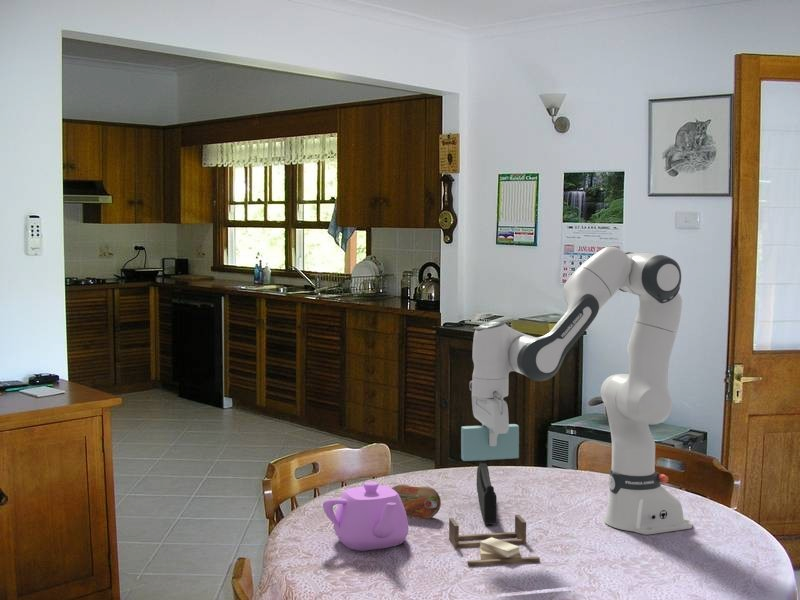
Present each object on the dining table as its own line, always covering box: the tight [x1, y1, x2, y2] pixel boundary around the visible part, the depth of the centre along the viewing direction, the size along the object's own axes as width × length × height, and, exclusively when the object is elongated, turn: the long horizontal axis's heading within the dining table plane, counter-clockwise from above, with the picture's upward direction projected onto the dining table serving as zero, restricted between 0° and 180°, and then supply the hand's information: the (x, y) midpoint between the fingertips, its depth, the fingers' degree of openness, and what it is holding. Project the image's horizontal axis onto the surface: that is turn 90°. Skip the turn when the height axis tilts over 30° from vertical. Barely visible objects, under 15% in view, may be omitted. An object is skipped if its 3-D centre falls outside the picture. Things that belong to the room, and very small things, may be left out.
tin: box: [391, 483, 442, 520], centre depth 240 cm, size 15×3×8 cm, turn 68°
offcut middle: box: [479, 547, 521, 560], centre depth 209 cm, size 9×5×2 cm, turn 88°
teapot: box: [322, 481, 409, 552], centre depth 215 cm, size 23×21×15 cm
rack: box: [448, 514, 541, 567], centre depth 213 cm, size 18×18×6 cm
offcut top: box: [479, 537, 520, 557], centre depth 209 cm, size 8×4×2 cm, turn 44°
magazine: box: [475, 460, 498, 525], centre depth 244 cm, size 17×3×30 cm
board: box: [460, 423, 520, 462], centre depth 218 cm, size 14×2×8 cm, turn 100°
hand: (490, 443), depth 218 cm, fingers closed on board, 2 cm apart
